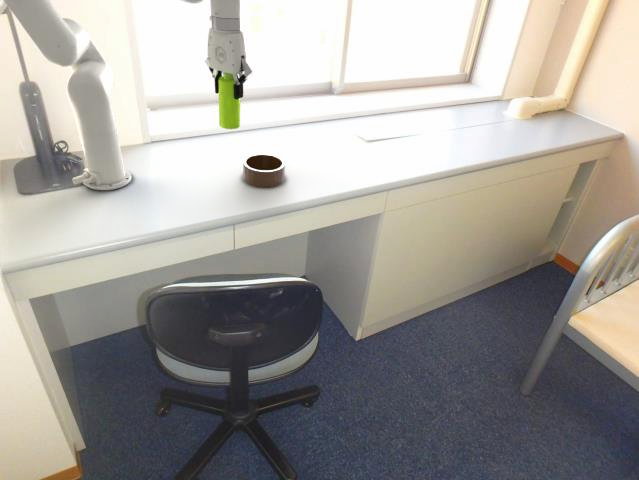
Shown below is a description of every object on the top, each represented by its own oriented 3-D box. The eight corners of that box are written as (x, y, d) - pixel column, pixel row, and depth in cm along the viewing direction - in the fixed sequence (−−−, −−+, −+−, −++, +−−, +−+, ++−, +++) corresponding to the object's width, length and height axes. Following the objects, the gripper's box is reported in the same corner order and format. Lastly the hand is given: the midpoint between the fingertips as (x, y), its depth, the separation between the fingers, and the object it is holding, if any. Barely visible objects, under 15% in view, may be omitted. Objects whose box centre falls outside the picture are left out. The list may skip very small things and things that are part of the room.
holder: (267, 192, 132) (268, 175, 129) (235, 179, 137) (234, 162, 133) (291, 177, 141) (292, 161, 138) (260, 165, 146) (260, 150, 142)
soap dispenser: (224, 131, 124) (223, 57, 112) (216, 122, 129) (215, 49, 117) (244, 129, 126) (245, 56, 115) (236, 120, 131) (236, 49, 119)
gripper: (190, 19, 113) (196, 91, 123) (243, 31, 106) (244, 106, 116) (211, 17, 118) (215, 85, 128) (263, 28, 111) (262, 99, 122)
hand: (229, 94), depth 122 cm, fingers closed on soap dispenser, 6 cm apart
